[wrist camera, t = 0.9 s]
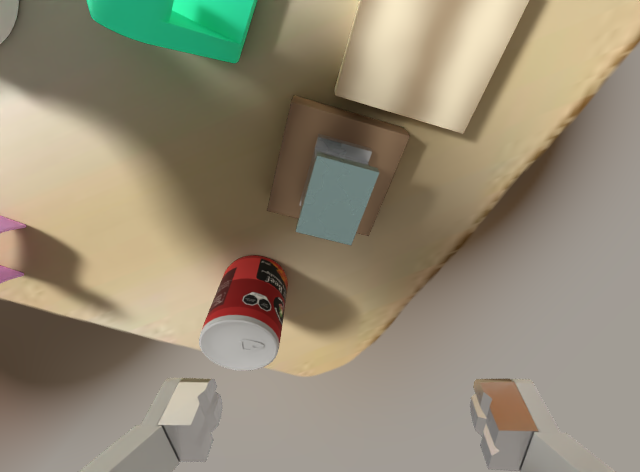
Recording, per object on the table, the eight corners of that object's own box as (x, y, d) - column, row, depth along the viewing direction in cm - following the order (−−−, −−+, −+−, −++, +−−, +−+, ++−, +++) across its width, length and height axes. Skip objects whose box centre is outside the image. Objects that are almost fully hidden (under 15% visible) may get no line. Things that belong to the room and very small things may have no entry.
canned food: (295, 295, 46) (287, 366, 36) (237, 305, 47) (215, 376, 37) (278, 247, 42) (264, 313, 32) (216, 259, 43) (185, 326, 33)
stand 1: (270, 197, 38) (266, 210, 36) (293, 95, 33) (291, 101, 30) (365, 222, 40) (368, 235, 37) (403, 127, 34) (409, 136, 31)
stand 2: (334, 89, 32) (335, 95, 30) (380, -76, 26) (386, -87, 24) (452, 125, 34) (463, 133, 31) (522, -23, 28) (542, -28, 25)
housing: (299, 200, 35) (295, 231, 30) (318, 133, 31) (317, 155, 26) (347, 213, 36) (351, 245, 31) (370, 148, 32) (379, 172, 27)
